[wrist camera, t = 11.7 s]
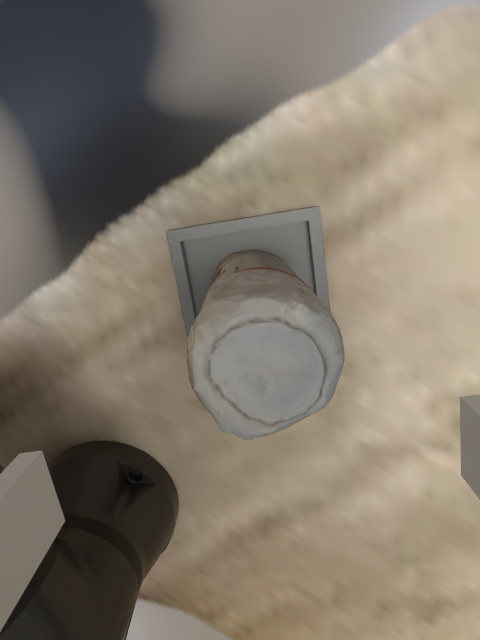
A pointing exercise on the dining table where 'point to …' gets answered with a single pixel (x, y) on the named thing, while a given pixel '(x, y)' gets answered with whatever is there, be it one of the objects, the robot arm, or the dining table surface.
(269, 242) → the tray
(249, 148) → the dining table surface
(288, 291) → the spray can
